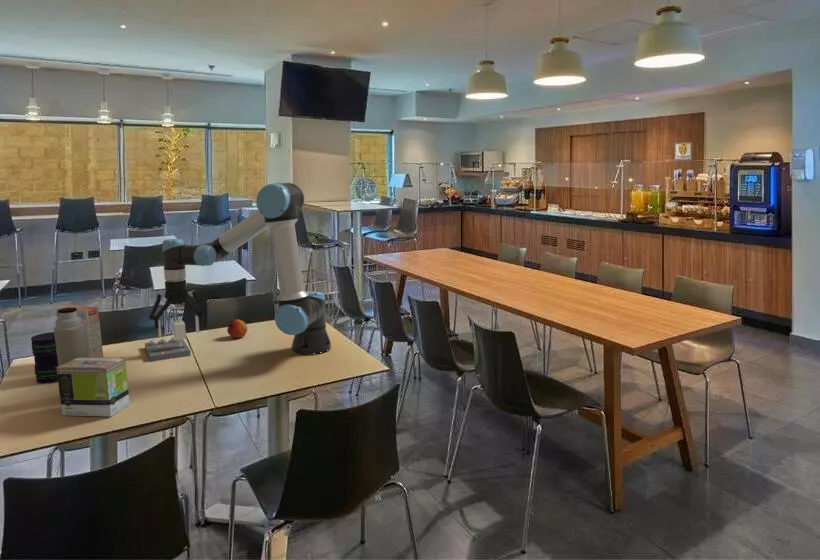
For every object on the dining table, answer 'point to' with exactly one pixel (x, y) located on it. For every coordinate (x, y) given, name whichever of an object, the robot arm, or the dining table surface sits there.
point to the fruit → (237, 329)
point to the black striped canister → (45, 357)
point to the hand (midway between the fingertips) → (179, 334)
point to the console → (166, 349)
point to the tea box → (93, 386)
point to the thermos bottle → (69, 336)
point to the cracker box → (90, 329)
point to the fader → (179, 331)
